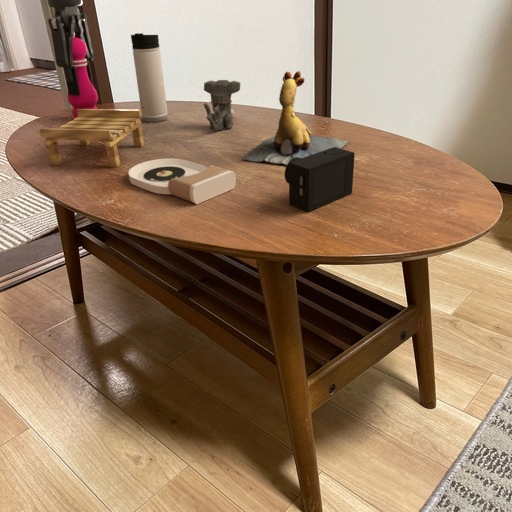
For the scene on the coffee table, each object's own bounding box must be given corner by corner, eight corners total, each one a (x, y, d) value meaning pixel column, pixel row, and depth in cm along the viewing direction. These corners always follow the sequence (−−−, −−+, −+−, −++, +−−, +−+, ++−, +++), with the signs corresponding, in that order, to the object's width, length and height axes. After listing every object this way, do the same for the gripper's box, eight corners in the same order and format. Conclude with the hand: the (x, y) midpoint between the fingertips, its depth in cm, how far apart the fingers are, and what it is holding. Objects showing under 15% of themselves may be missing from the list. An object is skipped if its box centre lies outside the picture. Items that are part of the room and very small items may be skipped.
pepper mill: (66, 116, 131) (48, 30, 121) (92, 110, 135) (77, 27, 125) (80, 121, 126) (63, 32, 116) (106, 115, 131) (92, 29, 121)
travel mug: (137, 122, 126) (124, 33, 116) (148, 115, 131) (137, 30, 121) (161, 123, 124) (150, 33, 114) (171, 116, 130) (162, 30, 120)
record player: (186, 189, 79) (114, 163, 92) (188, 207, 81) (117, 179, 93) (240, 168, 86) (166, 146, 99) (241, 185, 88) (168, 162, 100)
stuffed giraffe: (241, 159, 99) (242, 72, 91) (278, 136, 114) (281, 59, 106) (321, 172, 93) (328, 81, 86) (348, 146, 108) (357, 66, 100)
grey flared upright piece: (266, 122, 122) (265, 78, 117) (207, 140, 112) (203, 92, 107) (225, 112, 131) (223, 71, 126) (168, 128, 121) (162, 84, 116)
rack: (48, 166, 100) (39, 129, 96) (85, 142, 113) (78, 108, 109) (115, 168, 98) (109, 130, 94) (145, 144, 110) (140, 109, 107)
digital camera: (327, 184, 87) (328, 144, 84) (352, 193, 84) (355, 151, 80) (283, 202, 82) (282, 160, 78) (308, 212, 78) (309, 168, 74)
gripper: (55, -12, 107) (76, 101, 119) (97, -16, 124) (112, 84, 135) (22, -11, 109) (47, 100, 120) (68, -15, 125) (86, 83, 137)
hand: (81, 91), depth 128 cm, fingers closed on pepper mill, 6 cm apart
